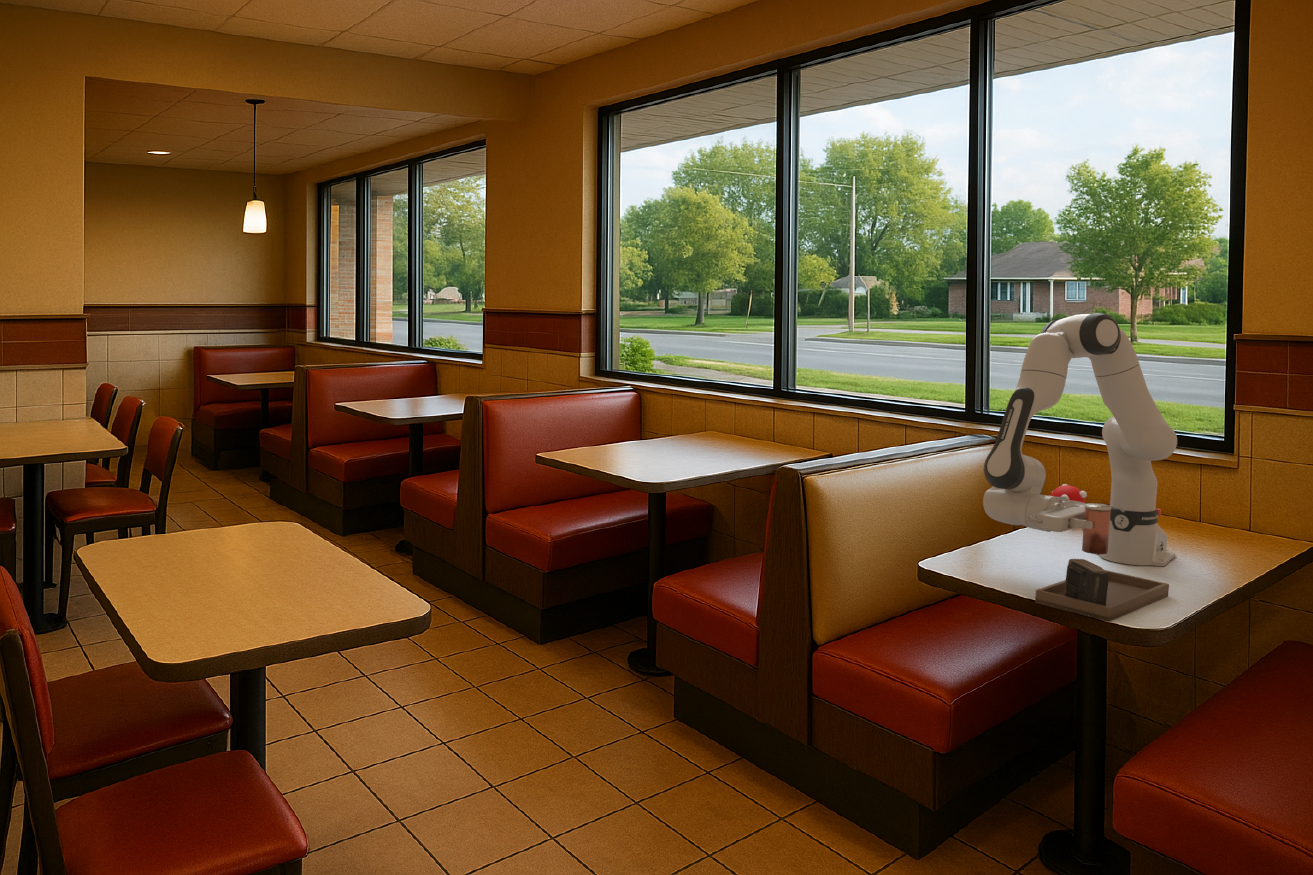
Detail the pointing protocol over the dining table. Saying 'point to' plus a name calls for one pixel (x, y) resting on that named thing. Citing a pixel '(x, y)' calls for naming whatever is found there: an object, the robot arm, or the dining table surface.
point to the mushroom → (1069, 493)
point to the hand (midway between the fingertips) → (1100, 523)
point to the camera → (1086, 581)
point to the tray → (1120, 600)
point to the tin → (1096, 529)
